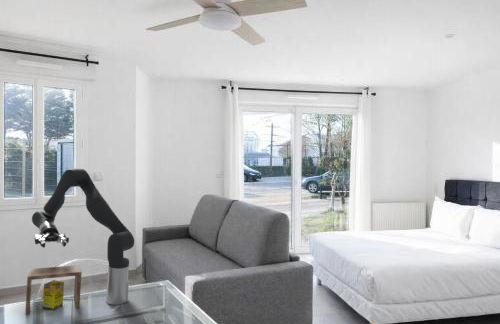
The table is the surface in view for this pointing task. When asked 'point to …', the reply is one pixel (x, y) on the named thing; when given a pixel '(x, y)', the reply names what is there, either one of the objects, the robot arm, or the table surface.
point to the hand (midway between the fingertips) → (54, 245)
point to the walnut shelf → (54, 273)
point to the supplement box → (53, 295)
